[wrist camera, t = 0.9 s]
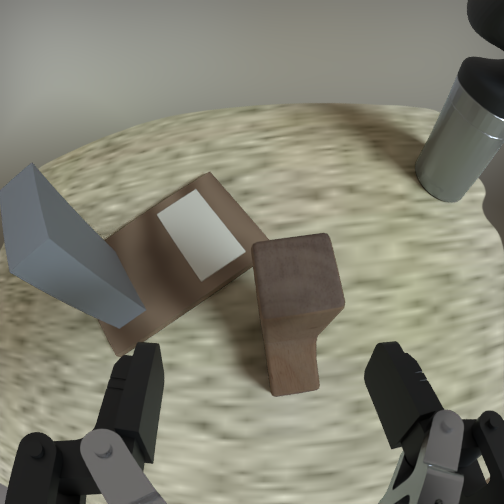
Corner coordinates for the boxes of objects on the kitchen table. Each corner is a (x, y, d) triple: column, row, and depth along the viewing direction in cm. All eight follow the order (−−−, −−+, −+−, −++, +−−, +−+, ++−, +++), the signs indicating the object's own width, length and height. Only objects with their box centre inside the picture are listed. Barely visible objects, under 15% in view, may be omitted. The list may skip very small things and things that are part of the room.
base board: (211, 176, 41) (209, 170, 40) (274, 250, 36) (274, 245, 35) (79, 266, 37) (73, 262, 35) (120, 357, 32) (115, 355, 30)
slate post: (115, 251, 36) (32, 162, 20) (146, 309, 33) (48, 238, 16) (91, 269, 35) (-1, 190, 19) (119, 328, 32) (9, 272, 16)
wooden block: (314, 388, 29) (364, 394, 13) (271, 395, 29) (272, 411, 13) (301, 307, 33) (329, 229, 17) (260, 313, 33) (249, 239, 17)
